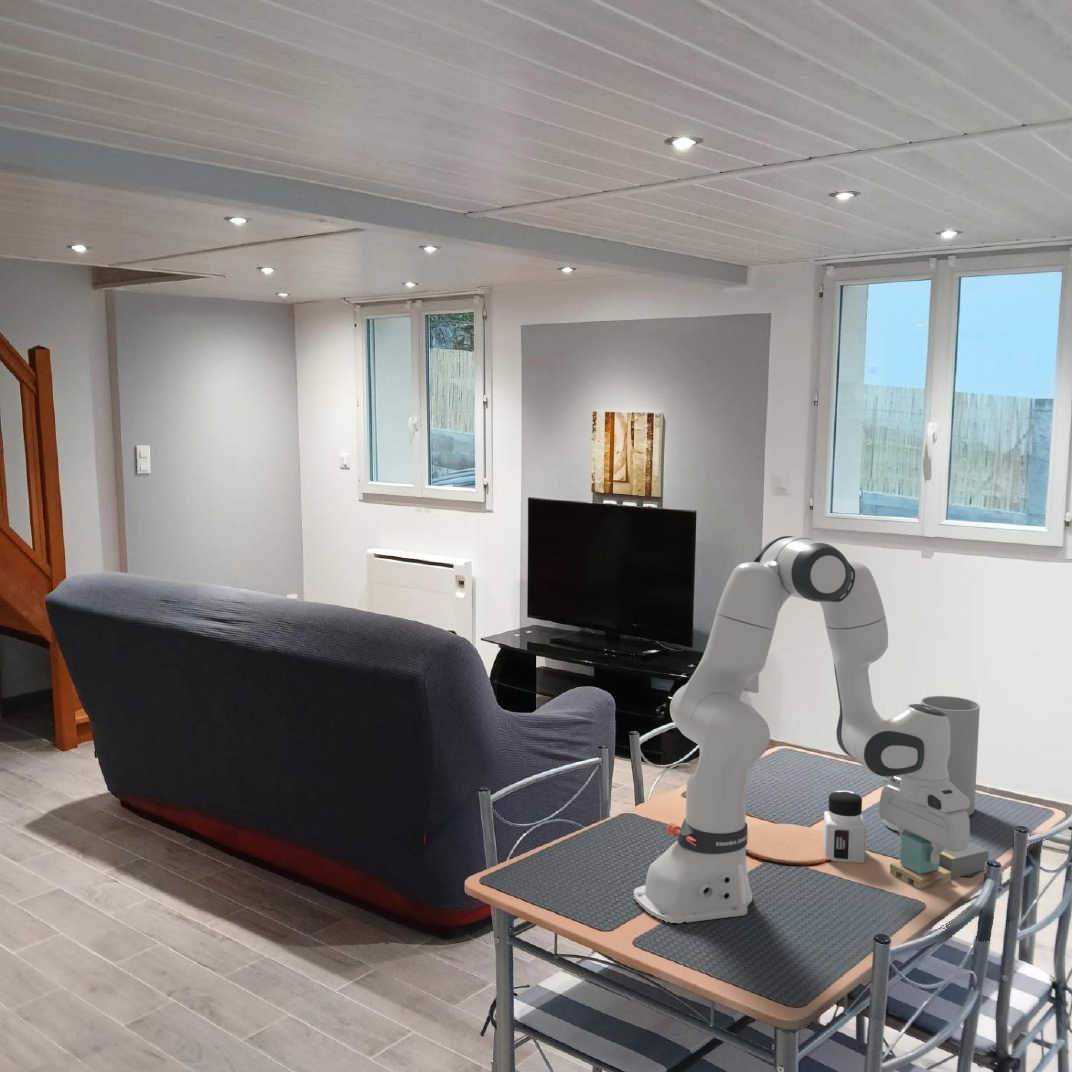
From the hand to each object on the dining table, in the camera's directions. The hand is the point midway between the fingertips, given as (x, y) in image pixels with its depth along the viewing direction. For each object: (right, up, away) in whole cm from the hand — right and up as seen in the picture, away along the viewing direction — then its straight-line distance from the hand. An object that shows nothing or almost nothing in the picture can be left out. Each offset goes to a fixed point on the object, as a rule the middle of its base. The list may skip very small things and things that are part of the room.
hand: (920, 856), depth 207 cm
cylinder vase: (+19, -1, +37) cm, 42 cm away
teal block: (0, -2, 0) cm, 2 cm away
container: (-12, -3, +12) cm, 17 cm away
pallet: (0, -4, +1) cm, 4 cm away
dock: (+8, -4, +7) cm, 11 cm away
